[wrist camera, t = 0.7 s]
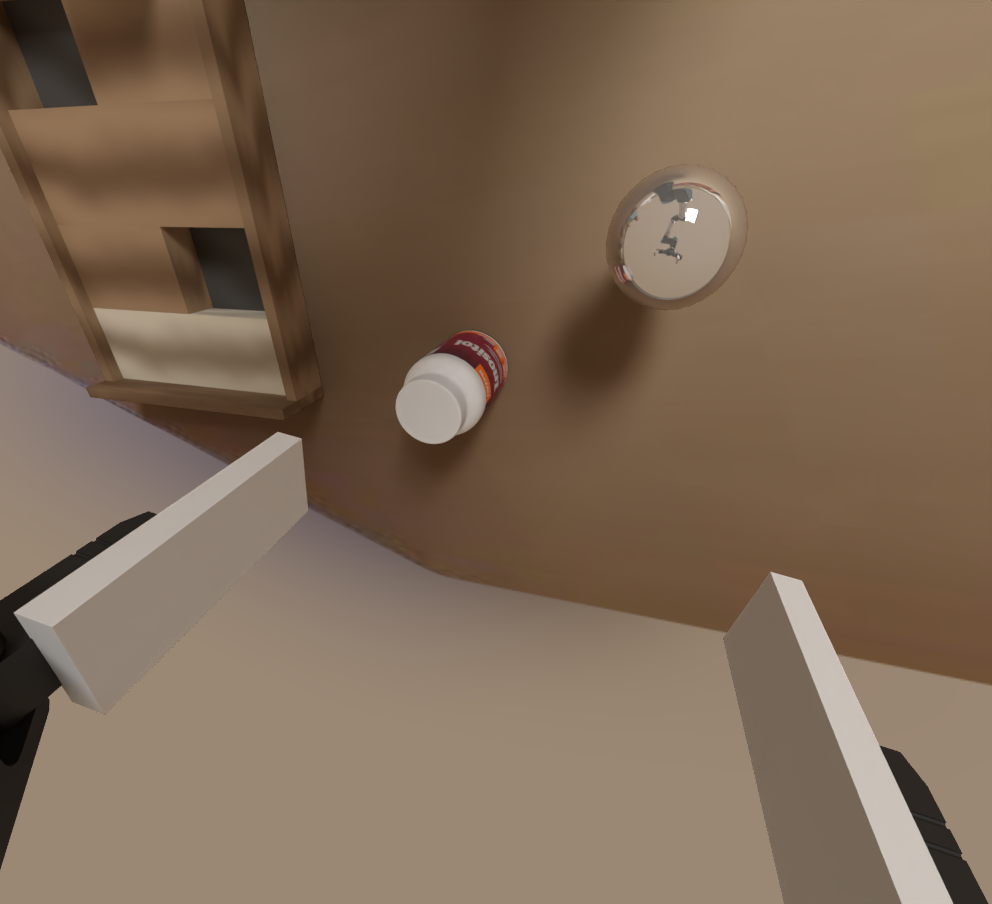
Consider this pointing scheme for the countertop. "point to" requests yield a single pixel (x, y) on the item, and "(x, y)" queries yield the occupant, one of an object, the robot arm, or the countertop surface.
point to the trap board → (159, 198)
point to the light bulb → (676, 237)
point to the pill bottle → (451, 387)
